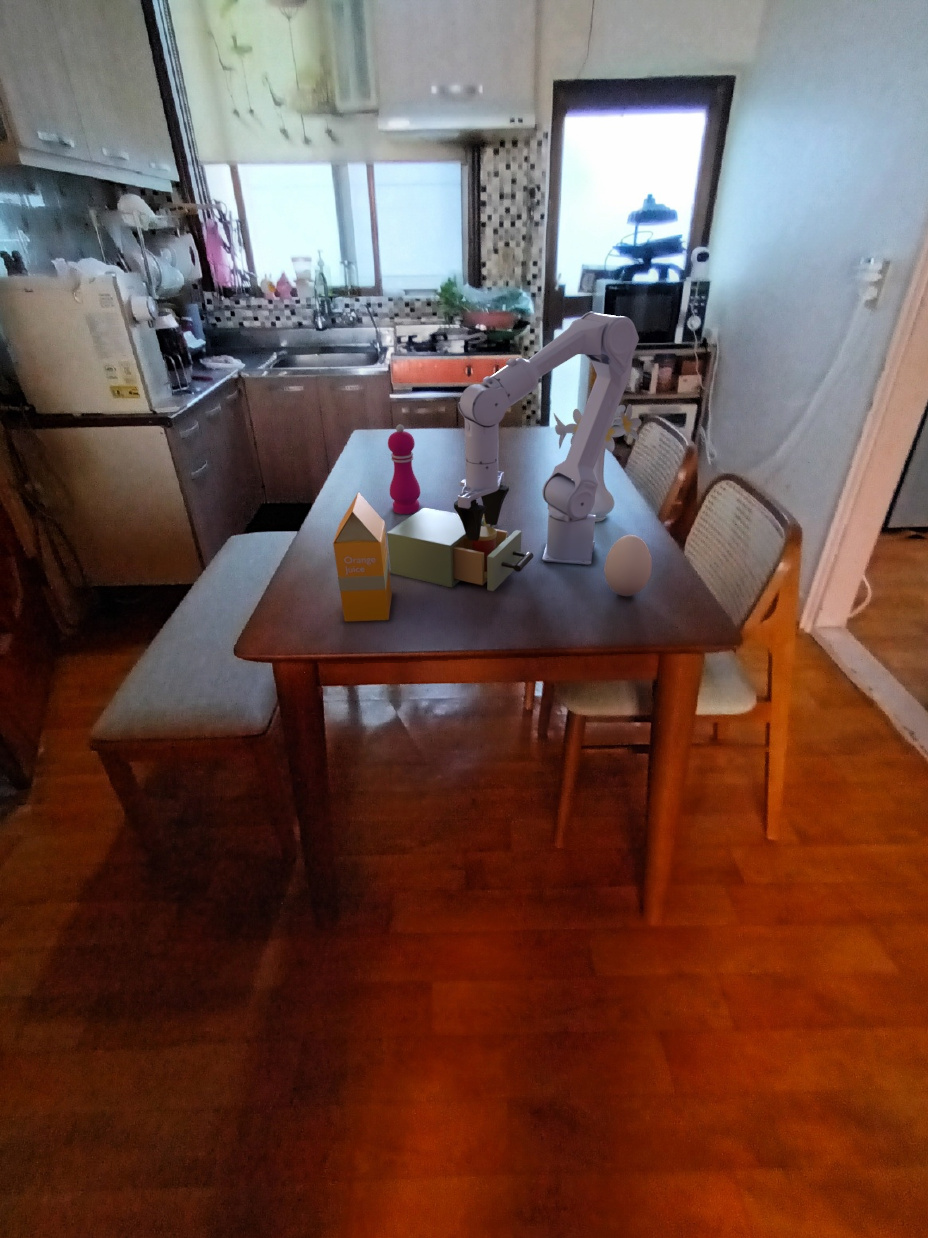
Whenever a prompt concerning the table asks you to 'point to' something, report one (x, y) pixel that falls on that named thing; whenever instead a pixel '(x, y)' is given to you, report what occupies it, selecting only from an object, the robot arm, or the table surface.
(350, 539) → the orange juice
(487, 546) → the tea tin
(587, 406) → the robot arm
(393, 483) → the pepper mill
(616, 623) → the table surface
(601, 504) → the flower vase
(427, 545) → the cabinet
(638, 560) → the egg
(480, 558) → the drawer
